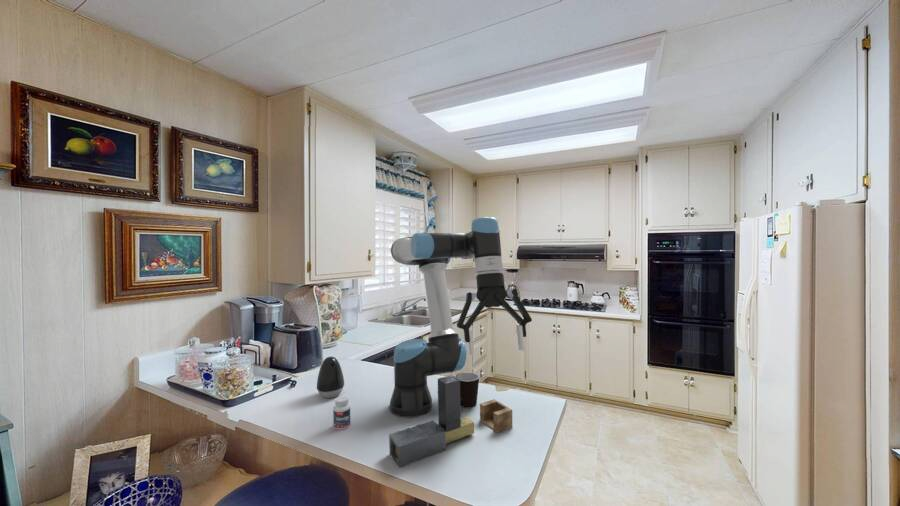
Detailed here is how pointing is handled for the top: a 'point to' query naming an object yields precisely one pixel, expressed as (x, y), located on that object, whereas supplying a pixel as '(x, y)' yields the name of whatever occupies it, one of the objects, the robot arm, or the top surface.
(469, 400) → the coffee mug
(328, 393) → the black egg shape
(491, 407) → the open wooden box
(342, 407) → the pill bottle
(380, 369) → the top surface
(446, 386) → the grey yellow upright-t piece
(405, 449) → the sleeve
